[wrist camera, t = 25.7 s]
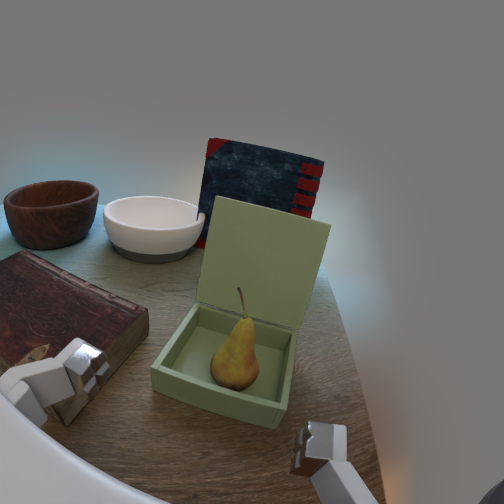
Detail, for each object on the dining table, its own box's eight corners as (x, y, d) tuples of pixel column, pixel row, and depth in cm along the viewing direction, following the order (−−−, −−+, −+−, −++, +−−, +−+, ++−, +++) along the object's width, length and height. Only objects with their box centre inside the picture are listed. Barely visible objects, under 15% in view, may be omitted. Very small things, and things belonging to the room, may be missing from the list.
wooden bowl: (65, 265, 45) (61, 214, 41) (-10, 245, 43) (-16, 202, 39) (114, 222, 68) (115, 184, 64) (44, 211, 65) (44, 177, 61)
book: (296, 256, 71) (322, 159, 61) (299, 269, 65) (328, 163, 55) (198, 236, 70) (213, 137, 60) (191, 247, 64) (208, 137, 54)
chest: (275, 429, 26) (286, 410, 25) (152, 390, 28) (150, 366, 26) (289, 353, 39) (298, 331, 37) (193, 325, 40) (196, 301, 39)
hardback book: (149, 333, 36) (148, 305, 34) (67, 428, 19) (52, 403, 17) (29, 270, 41) (25, 246, 39) (-42, 316, 24) (-51, 290, 22)
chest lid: (331, 225, 33) (327, 221, 37) (215, 195, 35) (225, 195, 39) (298, 330, 36) (299, 315, 41) (195, 300, 38) (205, 289, 43)
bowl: (214, 241, 70) (219, 209, 66) (172, 283, 49) (175, 240, 46) (139, 220, 72) (141, 190, 69) (83, 250, 52) (81, 212, 49)
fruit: (201, 392, 29) (212, 310, 24) (215, 359, 34) (230, 280, 29) (249, 406, 28) (275, 328, 23) (258, 371, 33) (282, 294, 29)
